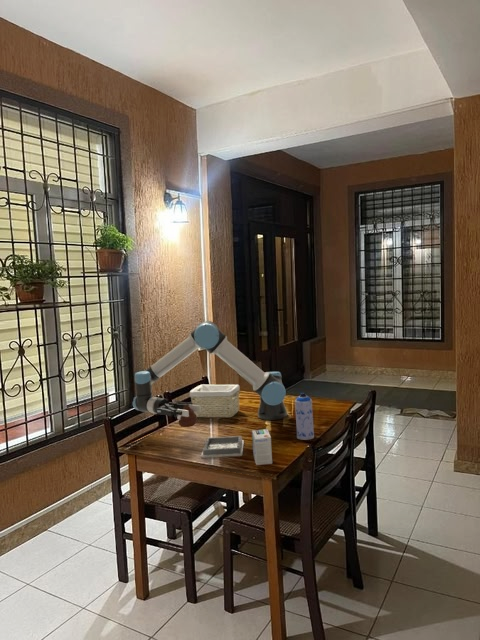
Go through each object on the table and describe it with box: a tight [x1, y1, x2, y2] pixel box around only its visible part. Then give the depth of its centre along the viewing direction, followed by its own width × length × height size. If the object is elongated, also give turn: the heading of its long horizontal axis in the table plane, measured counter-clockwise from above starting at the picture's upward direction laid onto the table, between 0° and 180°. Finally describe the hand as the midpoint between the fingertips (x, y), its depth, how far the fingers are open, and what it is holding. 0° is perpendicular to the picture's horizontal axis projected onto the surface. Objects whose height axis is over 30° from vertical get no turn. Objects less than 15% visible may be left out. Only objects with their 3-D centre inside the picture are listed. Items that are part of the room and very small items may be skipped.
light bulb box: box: [251, 428, 273, 466], centre depth 194 cm, size 11×7×11 cm, turn 5°
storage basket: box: [189, 383, 241, 419], centre depth 262 cm, size 24×16×15 cm
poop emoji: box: [176, 405, 198, 428], centre depth 220 cm, size 10×8×9 cm
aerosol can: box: [294, 392, 315, 441], centre depth 217 cm, size 8×8×20 cm
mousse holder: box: [200, 435, 245, 459], centre depth 209 cm, size 17×16×3 cm
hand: (194, 411), depth 217 cm, fingers closed on poop emoji, 7 cm apart
